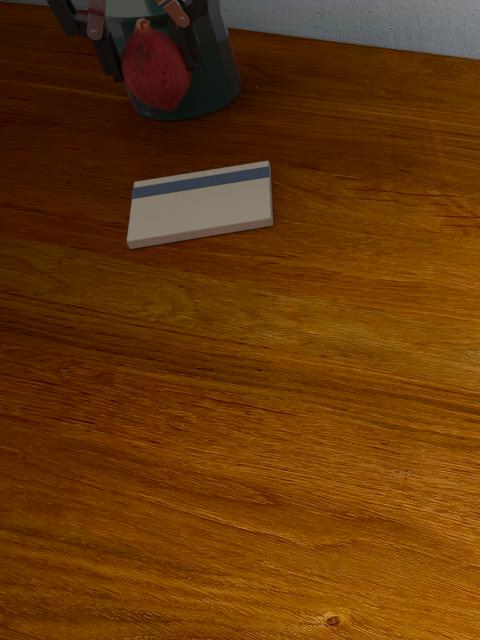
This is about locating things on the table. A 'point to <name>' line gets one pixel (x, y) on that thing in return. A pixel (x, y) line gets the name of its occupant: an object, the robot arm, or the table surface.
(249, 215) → the towel
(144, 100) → the onion
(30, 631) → the table surface
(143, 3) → the pot lid
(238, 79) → the pot
